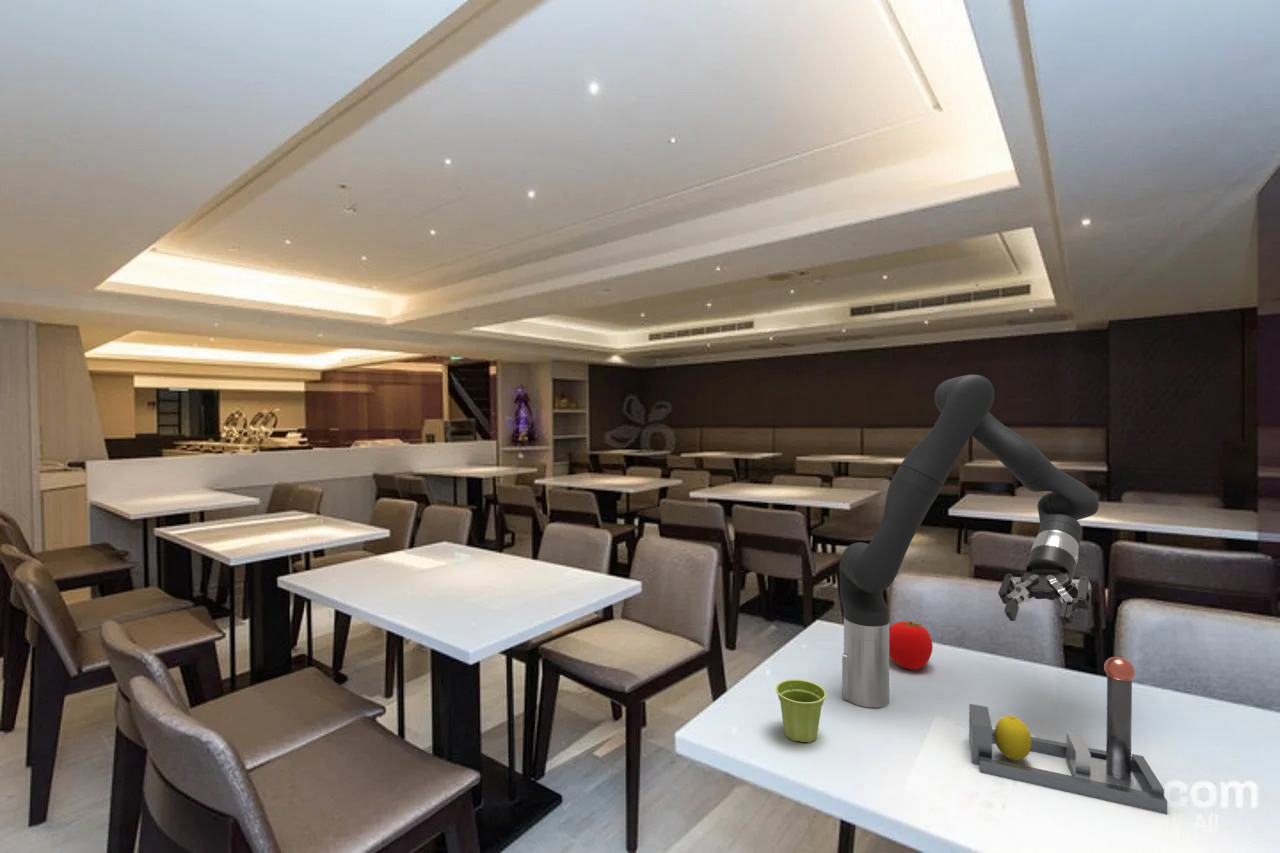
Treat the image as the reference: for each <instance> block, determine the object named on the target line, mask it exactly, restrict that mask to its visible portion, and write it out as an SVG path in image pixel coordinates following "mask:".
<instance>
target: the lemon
mask: <svg viewBox="0 0 1280 853" xmlns="http://www.w3.org/2000/svg"><path fill="white" fill-rule="evenodd" d="M994 729H995V733H994V736H995V742H996V744H995V745H996V747H997V748H998V750H999V751H1000V753H1001V754H1003V755H1004V756H1005V757H1006V758H1008V759H1009V760H1010V761H1012V762H1015V761H1017V760H1023V759H1024V758H1026V757H1027V756H1028V755H1029V753H1030V752H1031V751H1030V750H1031V737H1032V735H1031V733H1030V729H1029V728H1028V726H1027V725H1026V724H1025V722H1023V721H1022V719H1019V718H1018V717H1016V716H1015V715H1006V716H1003V717H1001V718H999V720H998V721H997V722H996V724H995V728H994Z"/></svg>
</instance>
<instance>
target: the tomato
mask: <svg viewBox="0 0 1280 853" xmlns="http://www.w3.org/2000/svg"><path fill="white" fill-rule="evenodd" d="M932 640H933V639H932V637H931V635H930V633H929V631H928V630H927V629H926V628H925V627H924V626H923V624H921V623H917V622H913V621H904V620H903V621H898V622H895V623H894V624H892V625H891V626H889V659H891V661H893V662H894V663H896V664H897V665H898V666H900V667H902V668H904V669H908V670H913V671H918V670H920V669H923V668H924V667H925V666H926V665H927V664H928V663H929V660H930V659H931V656H932V653H933V649H934V648H933V647H934V646H933V641H932Z"/></svg>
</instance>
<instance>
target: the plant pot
mask: <svg viewBox="0 0 1280 853" xmlns="http://www.w3.org/2000/svg"><path fill="white" fill-rule="evenodd" d="M775 692H776V694H777V696H778V700H779V701H780V702H779V703H780V710H781V716H782V718H781V719H782V726H783V732H784V733H783V734H784V735H785V737H787V738H788V737H789V738H790V739H789V738H788V739H789V740H791V739H793V740H794V741H793V740H792V741H793V742H802V743H803V742H809V743H812V741H813V742H814V741H815V739H816V740H817V738H818V732H819V726H820V719H821V710H822V707H823V705H824V701H825V699H826V698H827V691H826V690H825V689H824V687H822V686H821V685H819V684H817V683H815V682H812V681H809V680H803V679H786V680H782V681H781V682H779V683H777V684H776V686H775Z"/></svg>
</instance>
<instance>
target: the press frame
mask: <svg viewBox="0 0 1280 853" xmlns="http://www.w3.org/2000/svg"><path fill="white" fill-rule="evenodd" d="M968 707H969V708H968V709H969V710H968V711H969V712H968V714H969V715H968V716H969V718H968V720H969V721H968V728H969V729H968V731H969V732H968V734H969V735H968V741H969V742H968V743H969V751H970V757H971V763H972V764H974V765H978V768H979V770H978V771H979V772H980V773H984V774H989V775H993V776H996V777H997V776H998V777H1002V778H1006V779H1010V780H1014V781H1015V780H1016V781H1019V782H1024V783H1028V784H1034V785H1037V786H1043V787H1045V788H1050V789H1056V790H1058V791H1059V790H1060V791H1064V792H1069V793H1072V794H1073V793H1074V794H1077V795H1081V796H1086V797H1091V798H1095V799H1100V800H1104V801H1107V802H1108V801H1109V802H1113V803H1117V804H1123V805H1127V806H1131V807H1135V808H1139V809H1144V810H1148V811H1151V812H1156V813H1160V814H1168V799H1167V798H1166V796H1165V788H1164V787H1163V785H1162V783H1161V782H1160V780H1159V779H1158V778H1157V776H1156V773H1154V771H1153V770H1152V768H1151V766H1150V765H1149V763H1148V761H1147V760H1146V759H1145V757H1144V756H1143V755H1139V754H1135V753H1131V774H1133V776H1134V778H1135V780H1136V781H1137V783H1138V785H1139V787H1140V788H1141V790H1138V789H1137V790H1135V789H1131V788H1126V787H1121V786H1117V785H1112V784H1107V783H1103V782H1098V781H1093V780H1089V779H1084V778H1079V777H1075V776H1073V775H1070V774H1066V773H1061V772H1055V771H1051V770H1047V769H1042V768H1036V767H1031V766H1028V765H1023V764H1017V763H1014V762H1008V761H1003V760H999V759H995V758H993V744H994V745H996V742H995V736H994V733H995V728H993V725H992V720H991V716H990V712H989V711H990V710H989V707H988V706H983V705H978V704H972V703H969V705H968ZM1087 748H1088V750H1089V752H1090V754H1091V757H1093V758H1098V759H1103V760H1106V750H1102V749H1098V748H1092V747H1087ZM1066 751H1067V742H1061V741H1056V740H1051V739H1045V738H1040V737H1035V736H1031V750H1030V752H1034V753H1040V754H1043V755H1044V754H1045V755H1048V756H1049V755H1050V756H1055V757H1060V758H1065V759H1066Z"/></svg>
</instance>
